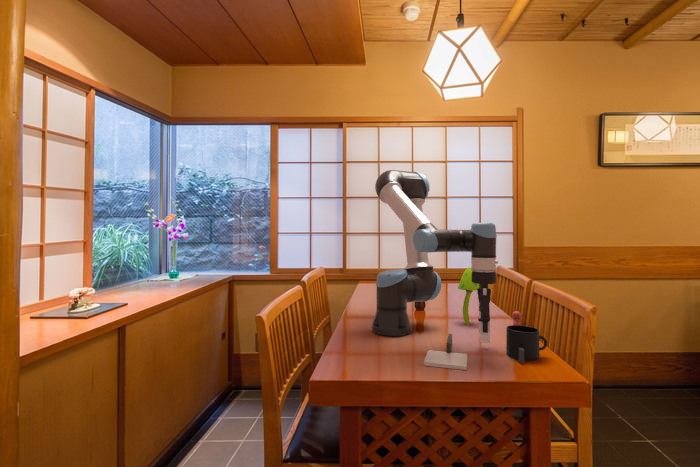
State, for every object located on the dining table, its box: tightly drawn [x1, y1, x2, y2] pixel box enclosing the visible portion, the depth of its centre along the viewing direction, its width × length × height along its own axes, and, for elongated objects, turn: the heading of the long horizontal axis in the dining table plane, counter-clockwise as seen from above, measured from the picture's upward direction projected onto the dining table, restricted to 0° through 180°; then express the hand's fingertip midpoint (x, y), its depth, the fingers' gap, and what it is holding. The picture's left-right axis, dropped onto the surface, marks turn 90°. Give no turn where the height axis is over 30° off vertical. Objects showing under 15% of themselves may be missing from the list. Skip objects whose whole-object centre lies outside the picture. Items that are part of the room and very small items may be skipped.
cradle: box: [446, 310, 525, 365], centre depth 121 cm, size 23×15×13 cm, turn 72°
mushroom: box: [457, 266, 479, 325], centre depth 155 cm, size 8×8×25 cm
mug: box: [505, 324, 548, 362], centre depth 118 cm, size 9×12×9 cm
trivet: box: [423, 349, 468, 371], centre depth 113 cm, size 12×12×1 cm
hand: (484, 337), depth 120 cm, fingers open, 13 cm apart
